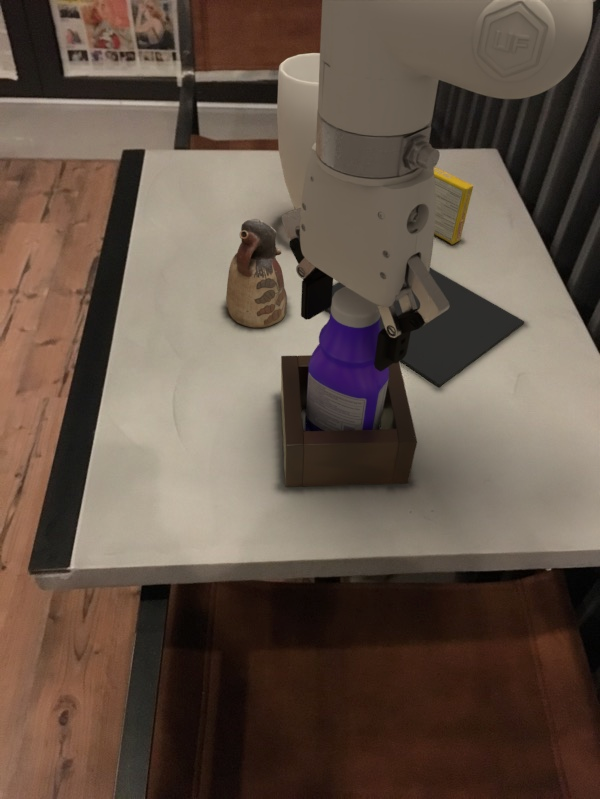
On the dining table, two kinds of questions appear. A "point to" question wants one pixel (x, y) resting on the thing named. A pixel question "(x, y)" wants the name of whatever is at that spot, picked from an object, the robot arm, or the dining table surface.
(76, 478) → the dining table surface
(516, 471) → the dining table surface
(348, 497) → the dining table surface
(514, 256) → the dining table surface
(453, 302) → the mat
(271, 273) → the figurine
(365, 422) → the bottle
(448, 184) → the candy box
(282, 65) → the cup
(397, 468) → the holder
